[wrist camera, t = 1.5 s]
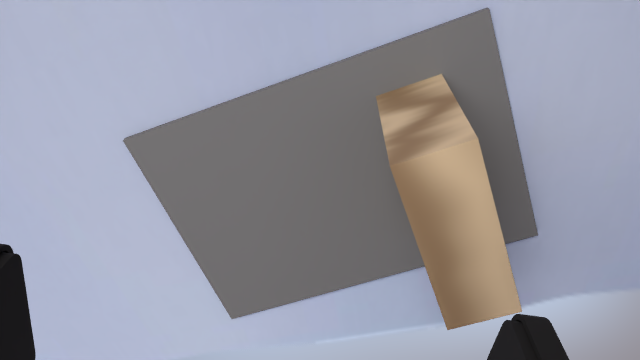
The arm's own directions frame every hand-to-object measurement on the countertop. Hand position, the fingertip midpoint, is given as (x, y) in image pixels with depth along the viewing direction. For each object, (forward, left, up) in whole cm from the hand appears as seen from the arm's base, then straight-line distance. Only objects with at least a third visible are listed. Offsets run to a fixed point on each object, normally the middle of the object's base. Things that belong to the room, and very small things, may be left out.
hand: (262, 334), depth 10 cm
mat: (+2, +12, -27) cm, 29 cm away
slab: (-5, +12, -26) cm, 29 cm away
